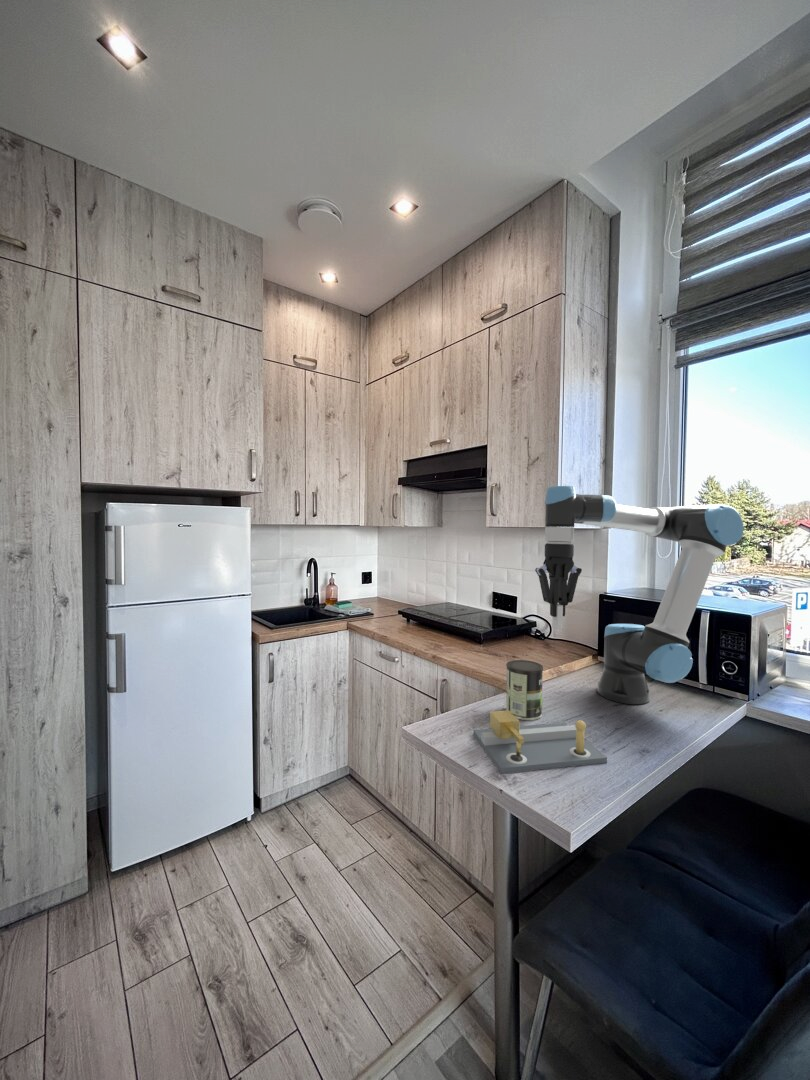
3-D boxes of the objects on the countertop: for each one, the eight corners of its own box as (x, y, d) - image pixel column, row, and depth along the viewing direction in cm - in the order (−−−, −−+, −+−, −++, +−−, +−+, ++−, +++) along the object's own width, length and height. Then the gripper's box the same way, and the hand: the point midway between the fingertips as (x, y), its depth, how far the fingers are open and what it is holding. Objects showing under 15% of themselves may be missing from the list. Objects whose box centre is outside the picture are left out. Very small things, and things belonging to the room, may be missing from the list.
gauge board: (564, 726, 117) (565, 694, 117) (607, 762, 99) (608, 725, 99) (473, 734, 112) (473, 701, 112) (501, 773, 95) (501, 734, 94)
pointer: (508, 731, 110) (508, 710, 110) (531, 757, 97) (532, 733, 97) (490, 733, 109) (490, 711, 109) (511, 759, 97) (511, 735, 96)
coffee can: (540, 707, 130) (541, 660, 129) (544, 722, 120) (545, 672, 119) (505, 704, 132) (505, 658, 131) (506, 718, 122) (506, 669, 121)
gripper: (572, 542, 123) (571, 624, 124) (530, 542, 121) (529, 625, 121) (588, 543, 116) (586, 630, 116) (544, 543, 113) (542, 632, 114)
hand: (557, 628), depth 119 cm, fingers closed
